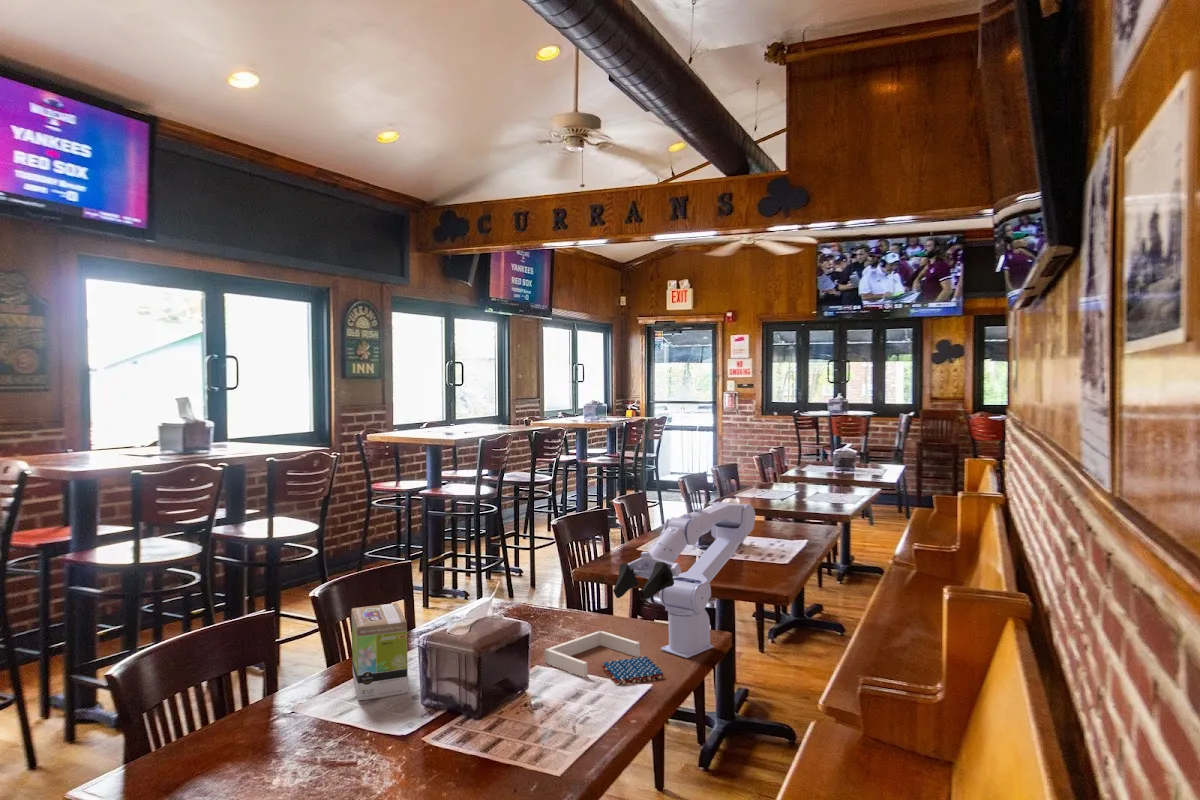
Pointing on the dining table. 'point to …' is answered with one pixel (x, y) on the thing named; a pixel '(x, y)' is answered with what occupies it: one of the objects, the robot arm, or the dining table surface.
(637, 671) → the woven mat
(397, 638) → the tea box
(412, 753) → the dining table surface
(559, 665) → the frame
